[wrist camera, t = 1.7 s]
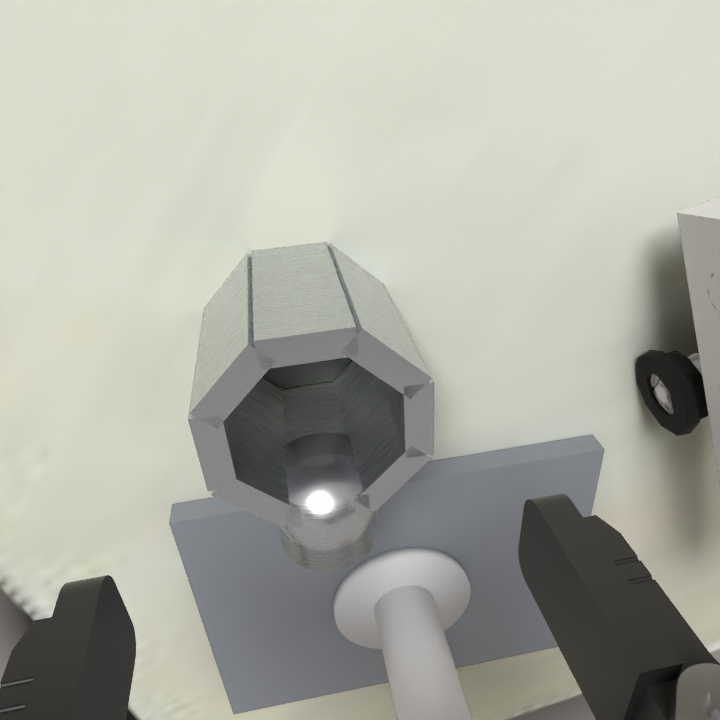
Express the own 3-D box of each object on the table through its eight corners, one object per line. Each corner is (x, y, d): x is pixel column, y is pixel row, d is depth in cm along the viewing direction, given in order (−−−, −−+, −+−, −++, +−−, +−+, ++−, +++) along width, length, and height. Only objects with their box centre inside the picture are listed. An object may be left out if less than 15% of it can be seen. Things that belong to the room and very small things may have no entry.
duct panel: (592, 434, 25) (744, 616, 17) (555, 628, 32) (651, 817, 25) (172, 504, 23) (135, 745, 15) (234, 694, 30) (229, 922, 23)
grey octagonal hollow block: (383, 235, 19) (436, 319, 14) (391, 429, 23) (435, 551, 18) (191, 258, 18) (169, 356, 13) (236, 454, 22) (233, 589, 17)
